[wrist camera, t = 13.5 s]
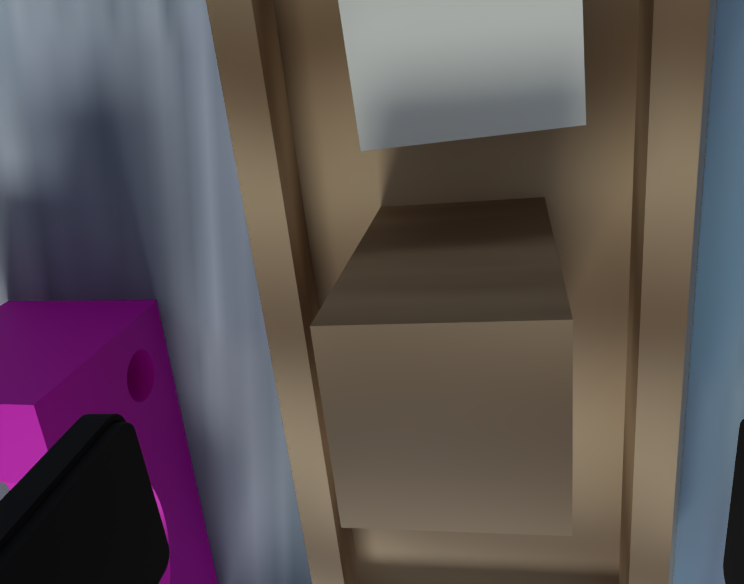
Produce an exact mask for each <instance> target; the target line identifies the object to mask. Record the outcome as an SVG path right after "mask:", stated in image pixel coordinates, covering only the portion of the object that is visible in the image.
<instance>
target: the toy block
mask: <svg viewBox="0 0 744 584" xmlns="http://www.w3.org/2000/svg"><path fill="white" fill-rule="evenodd" d="M85 414H119V415H122V416H123V418H124V419H125V421H126V422H129V423H131V424H132V425H133V426H134V428H135V431H136V434H137V437H138V441H139V444H140V448H141V451H142V455H143V458H144V461H145V465H146V468H147V472H148V475H149V479H150V482H151V486H152V489H153V492H154V496H155V499H156V503H157V506H158V510H159V513H160V517H161V520H162V523H163V527H164V530H165V534H166V537H167V541H168V544H169V549H170V556H169V562H168V566H167V568H166V571H165V573H164V574H163V576H162V578H161V580H160V582H159V584H218V582H217V577H216V573H215V568H214V564H213V559H212V554H211V550H210V545H209V540H208V536H207V531H206V527H205V522H204V517H203V513H202V508H201V503H200V499H199V494H198V489H197V485H196V480H195V476H194V471H193V466H192V462H191V457H190V452H189V448H188V443H187V439H186V434H185V429H184V425H183V420H182V415H181V411H180V406H179V402H178V397H177V392H176V388H175V383H174V378H173V374H172V369H171V364H170V360H169V355H168V351H167V346H166V341H165V337H164V332H163V327H162V323H161V318H160V314H159V309H158V304H157V300H102V301H8V302H6V303H4V304H3V305H1V306H0V482H5V483H6V485H7V486H8V488H9V489H10V490H11V489H12V488H13V487H14V486H15V485H16V484H17V483H18V482H19V481H20V480H21V479H22V478H23V477H24V476H25V474H26V473H27V472H28V471H29V470H30V469H31V468H32V467H33V466H34V465H35V464H36V463H37V462H38V461H39V460H40V459H41V458H42V457H43V456H44V455H45V453H46V452H47V451H48V450H49V449H50V448H51V447H52V446H53V445H54V444H55V443H56V442H57V441H58V440H59V439H60V438H61V437H62V436H63V435H64V434H65V433H66V431H67V430H68V429H69V428H70V427H71V426H72V425H73V424H74V423H75V422H76V421H77V420H78V419H79V418H80V417H81V416H83V415H85Z"/></svg>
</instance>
